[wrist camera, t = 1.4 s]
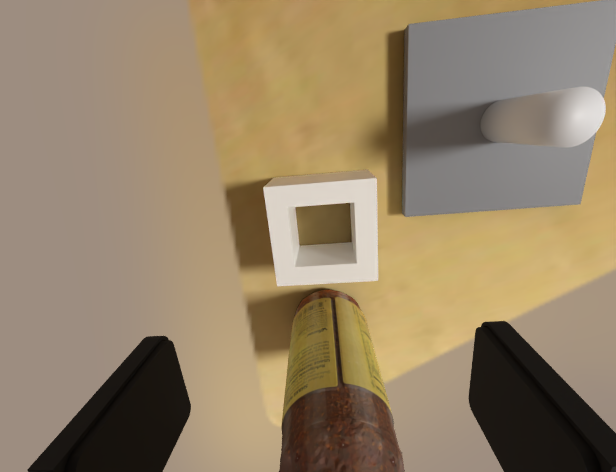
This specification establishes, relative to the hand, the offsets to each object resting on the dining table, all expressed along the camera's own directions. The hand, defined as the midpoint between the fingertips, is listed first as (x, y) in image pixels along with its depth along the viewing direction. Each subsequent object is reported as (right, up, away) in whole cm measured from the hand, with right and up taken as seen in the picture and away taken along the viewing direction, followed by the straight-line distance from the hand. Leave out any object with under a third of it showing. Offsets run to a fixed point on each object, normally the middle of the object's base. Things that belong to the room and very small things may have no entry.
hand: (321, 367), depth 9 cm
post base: (+12, +12, +11) cm, 20 cm away
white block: (+1, +5, +14) cm, 15 cm away
